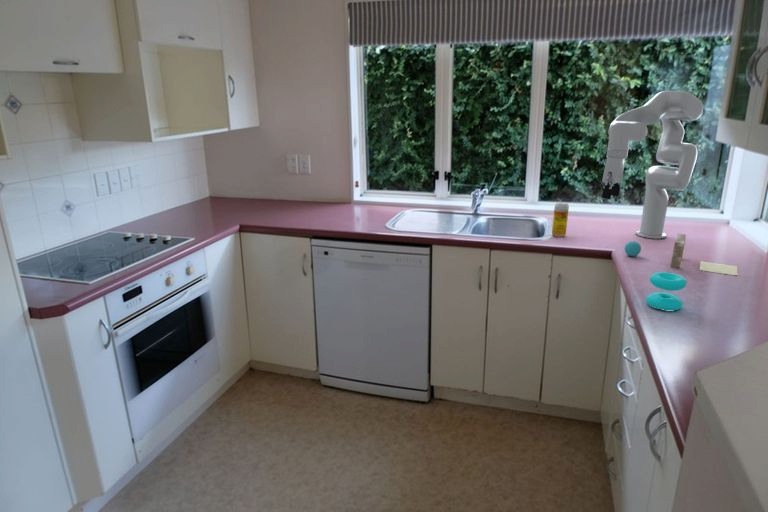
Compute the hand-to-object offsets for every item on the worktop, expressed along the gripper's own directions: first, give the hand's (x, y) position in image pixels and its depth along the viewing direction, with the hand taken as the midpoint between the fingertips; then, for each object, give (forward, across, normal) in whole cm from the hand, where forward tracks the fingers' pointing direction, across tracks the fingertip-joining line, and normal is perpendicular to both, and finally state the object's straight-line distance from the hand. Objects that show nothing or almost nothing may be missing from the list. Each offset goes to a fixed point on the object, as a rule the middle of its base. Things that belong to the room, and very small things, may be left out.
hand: (610, 197), depth 214 cm
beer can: (+23, -12, -24) cm, 35 cm away
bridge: (+22, -4, +27) cm, 35 cm away
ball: (+19, -1, +11) cm, 22 cm away
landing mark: (+22, -6, +41) cm, 47 cm away
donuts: (+24, +46, +35) cm, 63 cm away
